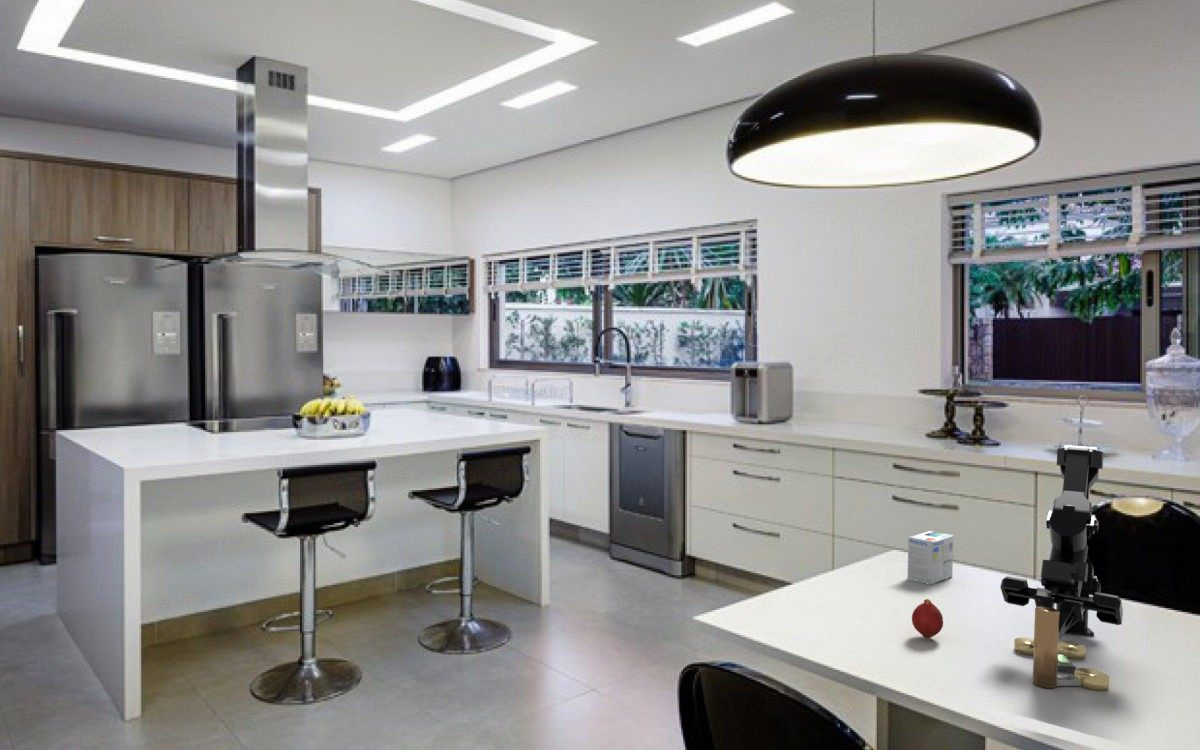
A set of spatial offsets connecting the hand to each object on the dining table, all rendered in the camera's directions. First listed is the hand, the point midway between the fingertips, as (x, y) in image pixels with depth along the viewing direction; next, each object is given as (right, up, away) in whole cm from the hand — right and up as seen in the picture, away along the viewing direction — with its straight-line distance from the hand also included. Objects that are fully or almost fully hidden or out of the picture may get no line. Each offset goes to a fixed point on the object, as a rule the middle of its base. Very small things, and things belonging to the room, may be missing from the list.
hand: (1052, 642), depth 142 cm
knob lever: (+1, -6, -4) cm, 7 cm away
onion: (-14, -6, +20) cm, 25 cm away
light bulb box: (+3, -4, +60) cm, 60 cm away
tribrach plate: (+3, -7, +3) cm, 8 cm away
